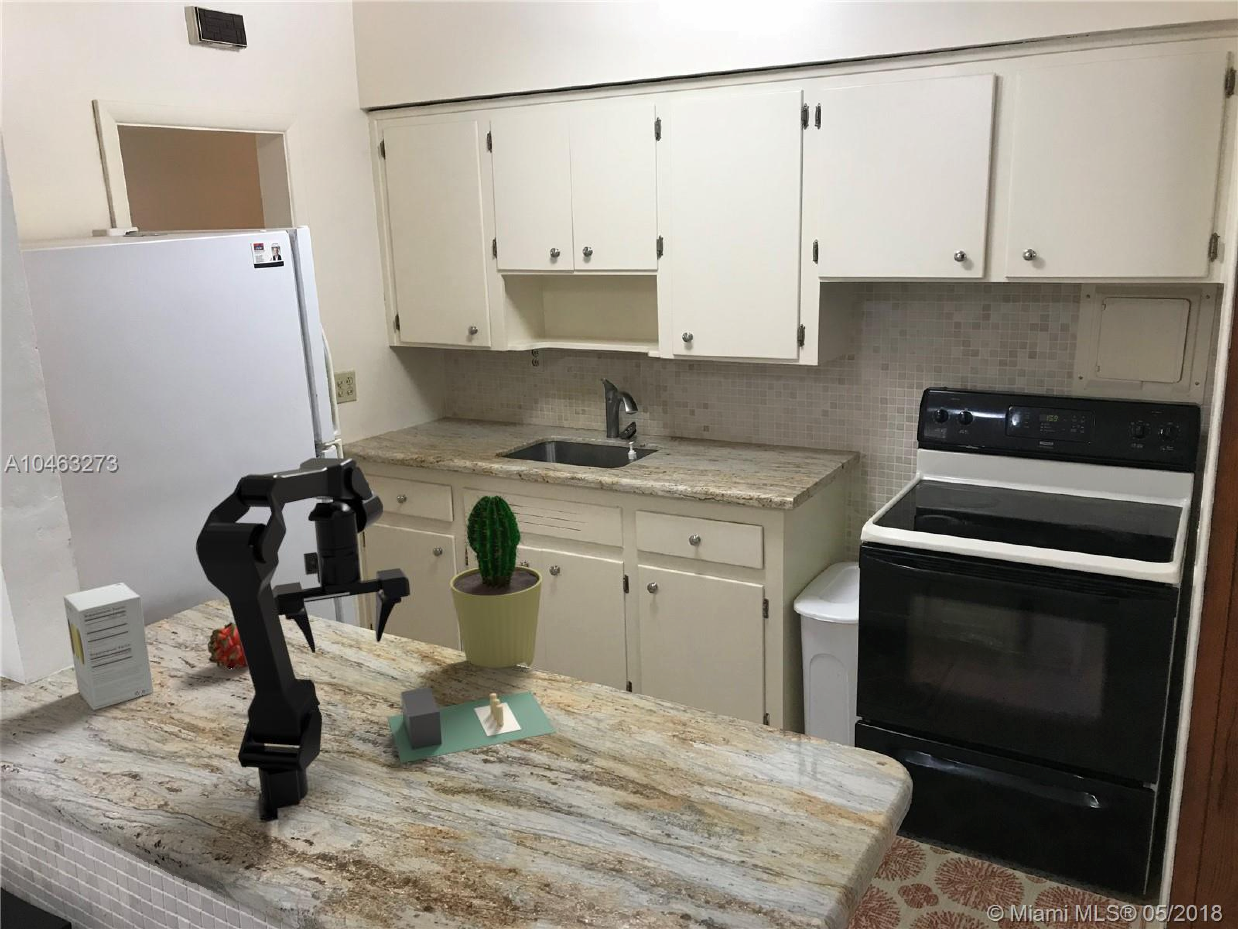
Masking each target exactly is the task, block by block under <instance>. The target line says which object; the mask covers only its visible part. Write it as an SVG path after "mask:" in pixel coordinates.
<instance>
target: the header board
mask: <svg viewBox="0 0 1238 929" xmlns="http://www.w3.org/2000/svg"><path fill="white" fill-rule="evenodd" d="M438 709H439V711H440V724H441V738H442V744H440V745H434V746H429V747H424V748H419V749H414V750H412V749H411V746H410V743H409V739H408V736H407V733H406V730H405V727H404V724H403V713H402V714H397V715H391V716H388V717H387V719H388V723H389V726H390V730H391V733H392V736H393V737H392V738H393V741H394V744H395V747H396V752H397V754H398V758H399V762H400V763H401V764H403V763H409V762H415V761H418V760H423V759H428V758H433V757H438V756H442V755H449V754H454V753H458V752H463V751H469V750H474V749H478V748H484V747H488V746H489V747H490V746H494V745H499V744H504V743H509V742H514V741H518V740H524V739H530V738H534V737H539V736H544V735H549V734H554V733H557V731H556V729H555V728H554V726H553V725H552V723H551V721H550V719H549V718H548V716H547V714H546V713H545V711H544V710H543V709H542V707H541V705H540V704H539V702H538V701H537V699H536V697H535V695H534V694H533V693H532V690H530V691H529V690H528V691H523V692H518V693H513V694H508V695H502V696H497V693H496V692H493V693H490V694H489V698H485V699H481V700H480V699H479V700H474V701H468V702H463V703H458V704H453V705H448V706H447V705H446V706H440V707H438Z"/></svg>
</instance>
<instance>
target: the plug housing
mask: <svg viewBox="0 0 1238 929" xmlns="http://www.w3.org/2000/svg"><path fill="white" fill-rule="evenodd" d="M400 695H401V696H400V697H401V698H400V699H401V708H402V709H401V710H402V714H403V724H404V727H405V730H406V733H407V736H408V739H409V743H410V746H411V749H412V750H414V749H419V748H424V747H429V746H434V745H440V744H442V738H441V724H440V711H439V709H438V708H439V707H438V705H437V701H436V699H435V697H434V695H433V692H432V689H431V687H424V688H416V689H413V690H412V689H411V690H410V689H409V690H406V691H401V692H400Z"/></svg>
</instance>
